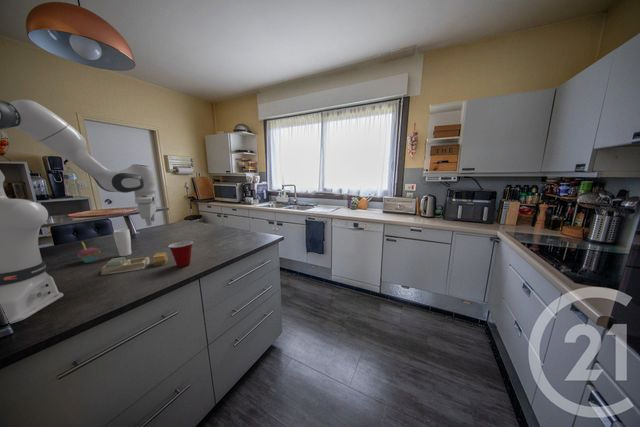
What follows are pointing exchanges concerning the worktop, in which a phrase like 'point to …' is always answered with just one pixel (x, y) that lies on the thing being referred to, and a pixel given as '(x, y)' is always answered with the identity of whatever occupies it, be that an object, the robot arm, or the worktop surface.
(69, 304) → the worktop surface
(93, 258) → the cupcake
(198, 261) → the worktop surface
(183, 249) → the plastic cup
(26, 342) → the worktop surface
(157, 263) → the ochre block
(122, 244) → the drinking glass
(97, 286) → the worktop surface
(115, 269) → the slot board
